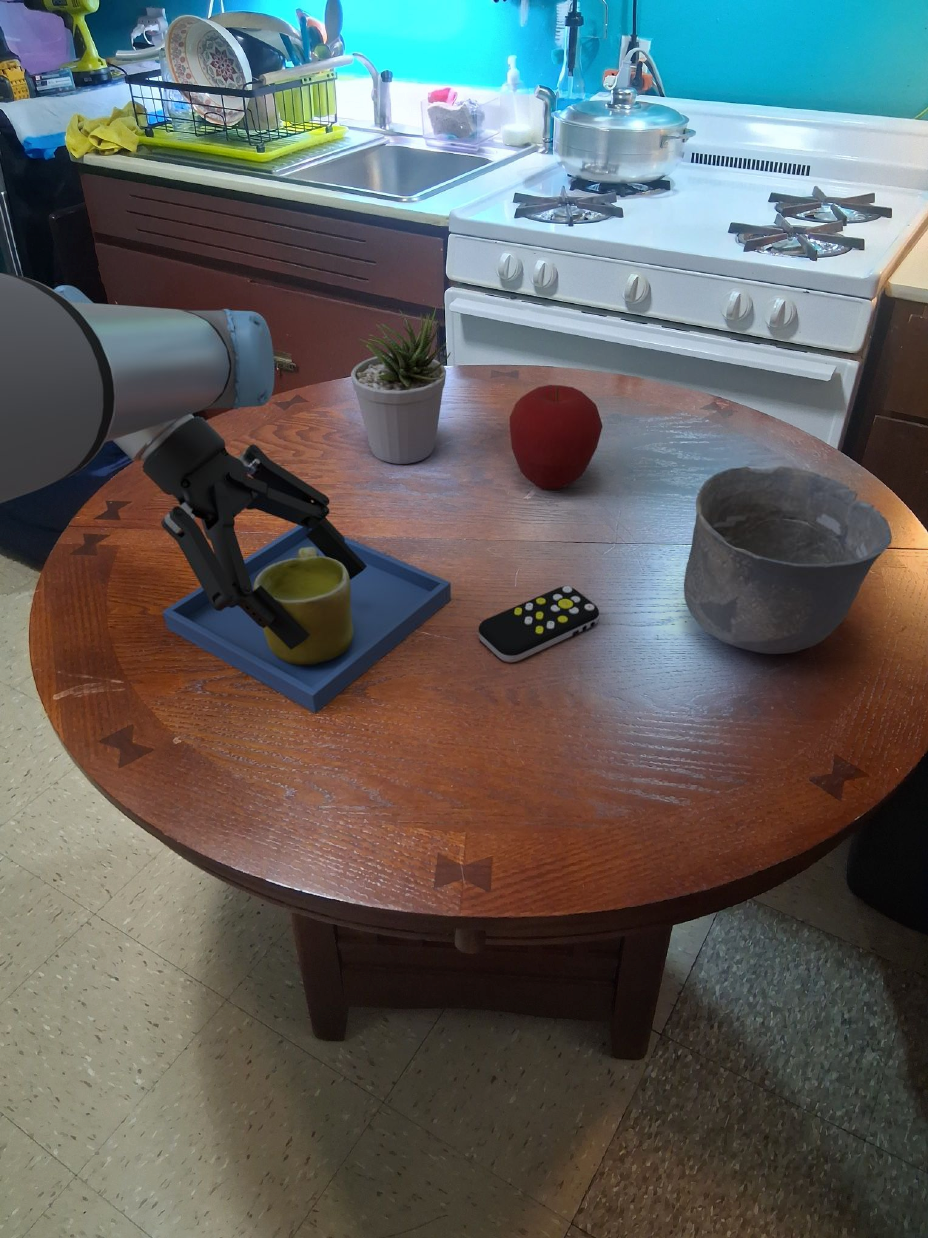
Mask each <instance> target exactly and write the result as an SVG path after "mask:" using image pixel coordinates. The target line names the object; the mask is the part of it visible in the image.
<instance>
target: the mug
mask: <svg viewBox="0 0 928 1238" xmlns="http://www.w3.org/2000/svg"><path fill="white" fill-rule="evenodd" d="M260 585H261V586H262V587H263V588H264V589H265V590H266V591H267V592H268V593H269V594H270V595H271V596H272V597H273V598H274V599H275V600H276V601H277V602H278V603H279V604H280V605H281V606H282V607H283V608H284V609H285V610H286V611H287V612H288V613H289V614H290V615H291V616H292V617H293V618H294V619H295V620H296V621H297V622H298V623H299V624H300V625H301V626H302V627H303V628H304V629H305V630H306V631H307V632H308V633H309V634H310V635H309V637H308V638H307V639H306V640H305V641H303V642H302V643H300V644H299V645H297V646H296V647H295V648H293V649H292V650H290V649H289V648H288V647H287V646H286V645H285V644H284V643H283V642H282V641H281V640H280V639H279V638H278V637H277V636H276V635H275V634H274V633H273V632H272V631H271V630H270V629H269V628H268V627H267V626H266V627H265V628H263V630H264V633H265V636H266V640H267V643H268V646H269V648H270V649H271V651H272V652H273V654H274V655H275V656H276V657H277V658H279V659H280V660H282V661H285V662H287V663H290V664H293V665H297V666H303V665H315V664H317V663H320V662H326V661H329V660H332V659H333V658H335V657H337V656H339V655H341V654H343V653H345V652H346V651H347V650H348V649H349V647H350V644H351V642H352V638H353V623H352V617H351V585H350V578H349V574H348V572H347V570H346V568H345V566H344V565H343V564H342V563H340V562H339V561H337V560H335V559H332V558H329V557H323V556H319V554H318V551H317V549H316V548H314V547H307V548H301V549H300V550H299V551H298V554H297V558H291V559H288V560H284V561H280V562H278V563H274V564H272V565H270V566H268V567H266V568H265V569H264V570H263V571H262V572H261V573H260V574H259V575H258V576H257V578H256V580H255V582H254V590H255V589H257V588H258V587H259V586H260Z"/></svg>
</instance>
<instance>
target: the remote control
mask: <svg viewBox="0 0 928 1238" xmlns="http://www.w3.org/2000/svg"><path fill="white" fill-rule="evenodd" d="M599 617H600V610H599V608H598V606H597V605H596V604H595V603H594V602H592V600H590V599H589V598H587V597H586V596H585V595H583V594H582V593H581V592H579V591H578V590H577V589H576V588H574V587H571V586H568V585H567V586H560V587H557V588H555V589H552V590H550V591H547V592H545V593H543V594H541V595H539V596H536V597H534V598H532V599H529V600H527V601H524V602H522V603H519V604H518V605H516V606H513V607H511V608H509V609H506V610H504V611H501V612H499V613H497V614H495V615H492V616H489V617H488V618H485V619H483V620H482V621H481V622H480V623H479V626H478V632H477V633H478V638H479V640H480V642H482V643H483V644H484V645H485V646H486V647H487V648H488V649H489V650H490V651H491V652H492V653H493V654H494V655H495V656H496V657H497V658H499V659H500V660H501V661H503V662H506V663H516V662H520V661H521V660H523V659H525V658H528V657H530V656H532V655H534V654H536V653H538V652H541V651H542V650H545V649H547V648H550V647H551V646H553V645H555V644H557V643H559V642H562V641H564V640H566V639H569V638H570V637H573V636H575V635H577V634H579V633H581V632H583V631H585V630H588V629H589V628H593V627H594V626H595V625H596V624H597V623H598V621H599Z"/></svg>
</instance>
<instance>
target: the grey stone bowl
mask: <svg viewBox="0 0 928 1238" xmlns="http://www.w3.org/2000/svg"><path fill="white" fill-rule="evenodd" d="M858 494H859V492H857V491H855V490H852V489H850V487H849V486H848V485H846V484H844V483H842V482H840V481H838V480H836V479H833V478H830V477H827V476H823V475H820V474H818V473H816V472H813V471H809V470H804V469H798V468H796V467H790V466H783V465H782V466H775V467H771V468H770V467H769V468H756V467H755V468H752V467H749V466H747V465H745V466H741V467H732V468H728V469H725V470H723V471H719V472H717V473H715V474H714V475H711V477H709V478H708V479H706V480H705V481H704V483H703V484H702V485H701V487H700V489H699V491H698V493H697V496H696V499H695V513H696V515H695V524H694V527H693V534H692V539H691V541H692V542H691V547H690V551H689V555H688V560H687V562H686V567H685V572H684V583H683V595H684V601H685V605H686V607H687V609H688V612H689V613H690V616H691V617H692V618H693V619H694V620H695V622H696V623H697V624H698V625H699V627H700V628H701V629H702V630H703V631H704V632H705V633H707V634H709V635H711V636H712V637H714V638H716V639H717V640H719V641H721V642H722V643H725V644H727V645H731V646H733V647H736V648H739V649H742V650H746V651H750V652H755V653H759V654H768V655H779V654H780V655H781V654H792V653H795V652H799V651H803V650H805V649H809V648H811V647H814V646H816V645H818V644H819V643H821V642H823V640H825V639H826V638H827V637H828V636H830V635H831V634H832V633H833V632H834V631H835V630H836V628H838V626H839V625H840V624H841V623H842V622H843V621H844V619H846V616H847V614H848V613H849V611H850V609H851V607H852V605H853V603H854V602H855V600H856V598H857V595H858V593H859V591H860V588H861V585H862V584H863V582H864V581H865V579H866V577H867V576H868V574H869V572H870V570H871V568H872V566H873V565H874V564H875V562H876V560H877V559H878V558H879V557H880V556H881V555H882V554H883V553H884V552H886V550H887V549H888V548H889V547H890V545H891V543H892V539H893V536H892V530H891V527H890V524H889V522H888V520H887V518H886V517H885V516H883V515H882V512H881V511H880V510H878V509H876V508H875V505H874V504H871V503H869V502H868V501H866V500H864V499H859V500H857V498H858V497H857V496H858Z"/></svg>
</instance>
